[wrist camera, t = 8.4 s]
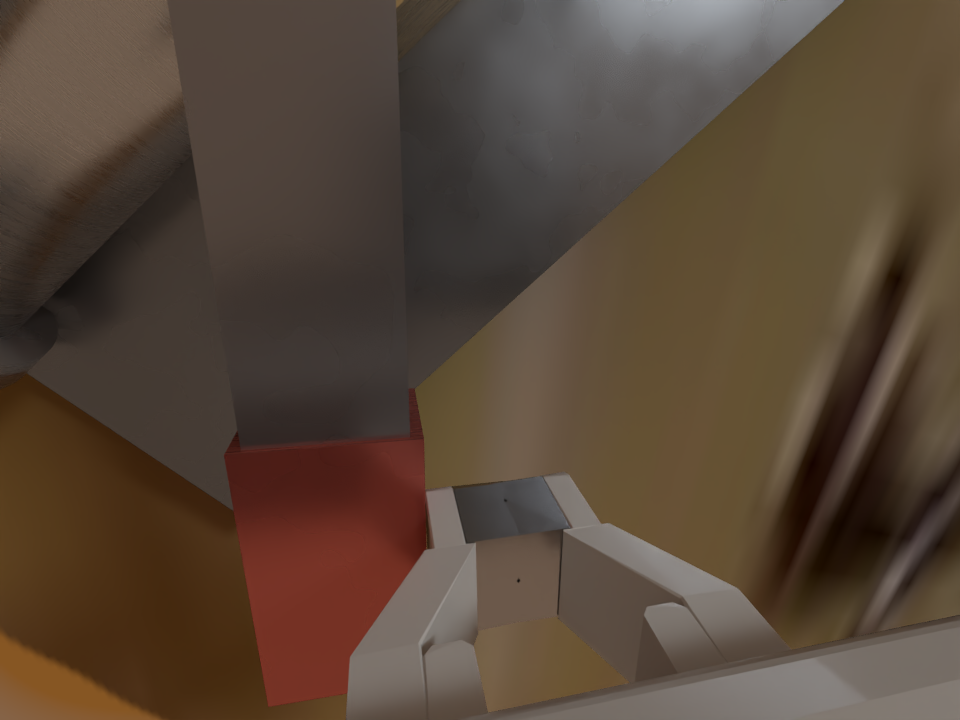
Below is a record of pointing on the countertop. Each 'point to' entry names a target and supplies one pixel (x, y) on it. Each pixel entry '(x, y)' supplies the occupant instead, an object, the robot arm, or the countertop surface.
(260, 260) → the lever
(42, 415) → the countertop surface
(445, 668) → the robot arm
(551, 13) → the valve assembly
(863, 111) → the countertop surface
